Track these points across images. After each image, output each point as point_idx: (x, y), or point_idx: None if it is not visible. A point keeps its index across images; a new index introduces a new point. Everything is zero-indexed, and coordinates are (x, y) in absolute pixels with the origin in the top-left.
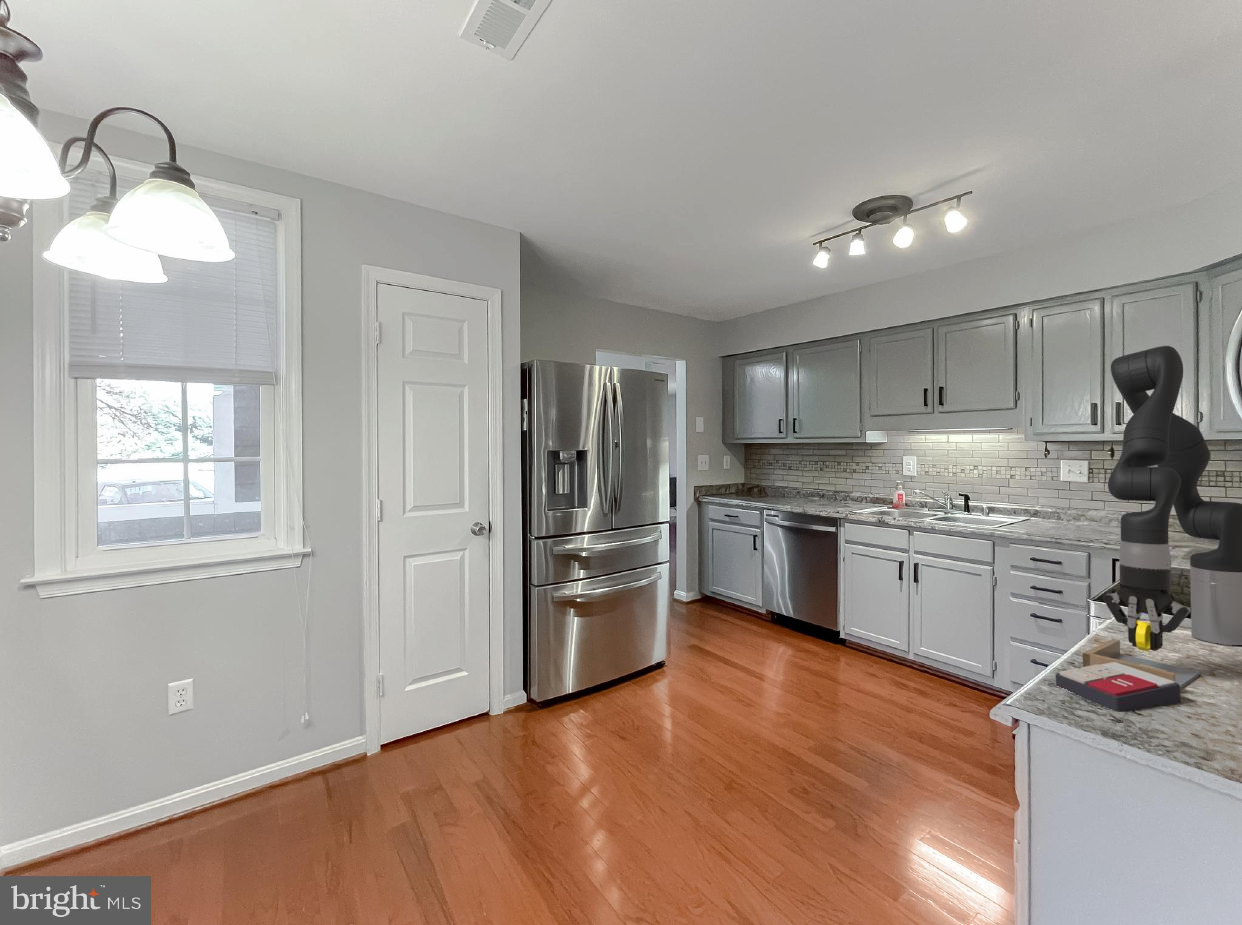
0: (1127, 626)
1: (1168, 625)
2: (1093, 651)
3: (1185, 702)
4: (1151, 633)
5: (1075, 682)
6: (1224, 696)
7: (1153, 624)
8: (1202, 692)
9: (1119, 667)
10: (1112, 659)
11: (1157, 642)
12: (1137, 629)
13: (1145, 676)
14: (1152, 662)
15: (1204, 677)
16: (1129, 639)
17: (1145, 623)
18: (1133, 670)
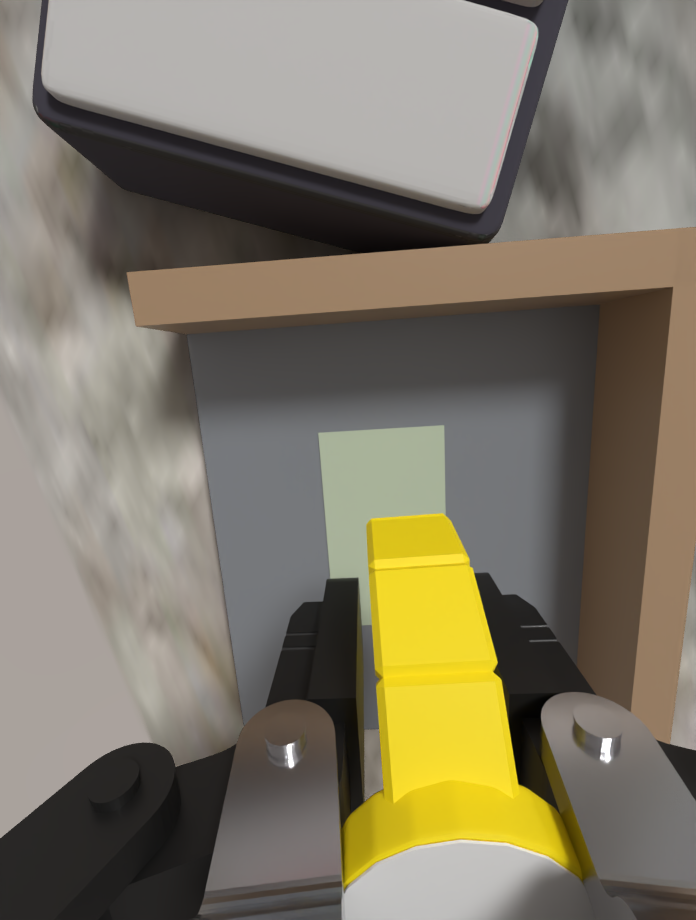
0: (627, 727)
1: (53, 879)
2: (680, 359)
3: (102, 201)
4: (339, 687)
5: None
6: (70, 494)
7: (296, 833)
8: (138, 464)
9: (411, 76)
10: (516, 261)
11: (305, 640)
12: (473, 622)
13: (207, 16)
14: None
15: (227, 701)
16: (528, 613)
17: (412, 811)
18: (318, 98)
